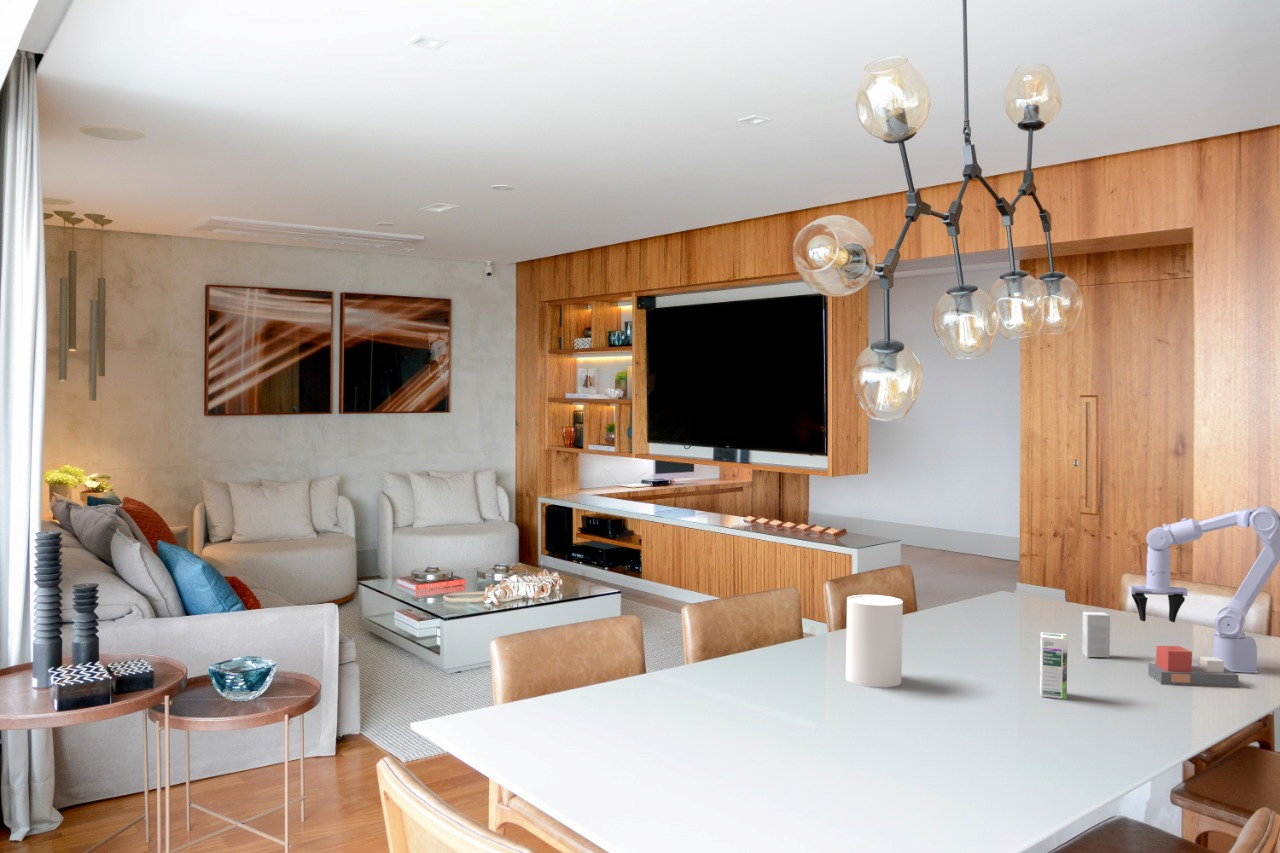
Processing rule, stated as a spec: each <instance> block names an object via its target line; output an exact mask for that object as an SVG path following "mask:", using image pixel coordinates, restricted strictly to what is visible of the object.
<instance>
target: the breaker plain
mask: <svg viewBox="0 0 1280 853" xmlns="http://www.w3.org/2000/svg"><path fill="white" fill-rule="evenodd" d="M1199 666H1200V669H1202V670H1203V671H1205V672H1216V673H1224V661H1223V660H1221V659H1219V658H1217V657H1213V656H1199Z"/></svg>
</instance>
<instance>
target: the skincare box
mask: <svg viewBox="0 0 1280 853" xmlns="http://www.w3.org/2000/svg"><path fill="white" fill-rule="evenodd" d="M1081 615H1082V624H1081V625H1082V627H1081V628H1082V631H1081V632H1082V637H1081V638H1082V640H1081V644H1082V645H1081V647H1082V652H1081V653H1082V654H1081V655H1083V654H1084V655H1085V656H1084V655H1083V656H1084V657H1085V658H1087V657H1108V658H1107V659H1110V650H1111V649H1110V647H1111V646H1110V641H1111V639H1110V638H1111V634H1110V633H1111V631H1110V630H1111V628H1110V627H1111V626H1110V624H1111V621H1110V620H1111V615H1110V614H1109V613H1106V612H1105V611H1103V612H1102V611H1082V614H1081Z"/></svg>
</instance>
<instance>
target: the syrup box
mask: <svg viewBox="0 0 1280 853" xmlns="http://www.w3.org/2000/svg"><path fill="white" fill-rule="evenodd" d="M1039 640H1040V643H1039V645H1040V647H1039V648H1040V649H1039V650H1040V651H1039V655H1040V656H1039V658H1040V659H1039V661H1040V662H1039V694H1040V698H1053V699H1060V700H1067V695H1068V694H1067V693H1068V692H1067V691H1068V690H1067V689H1068V688H1067V687H1068V640H1069V639H1068V636H1067V634H1066V633H1053V632H1043V631H1042V632H1040V639H1039Z"/></svg>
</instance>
